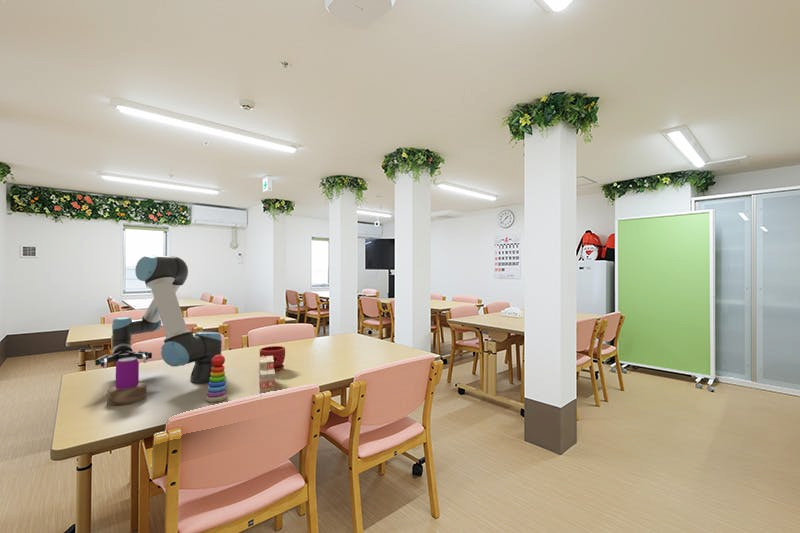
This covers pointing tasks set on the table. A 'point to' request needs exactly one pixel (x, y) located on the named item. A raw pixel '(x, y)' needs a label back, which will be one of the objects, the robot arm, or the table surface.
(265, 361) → the stack of blocks
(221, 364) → the stacking toy
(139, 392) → the walnut pedestal
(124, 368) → the beverage can
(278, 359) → the plant pot
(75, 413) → the table surface
